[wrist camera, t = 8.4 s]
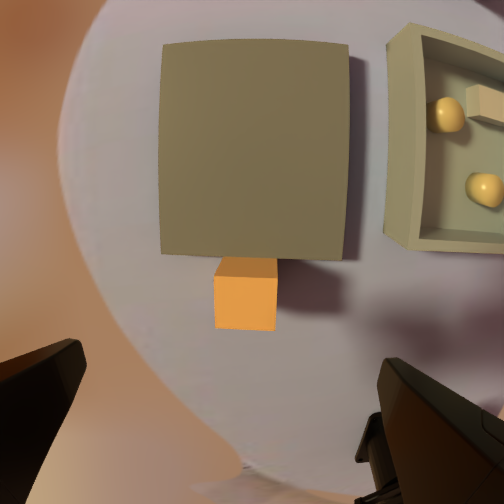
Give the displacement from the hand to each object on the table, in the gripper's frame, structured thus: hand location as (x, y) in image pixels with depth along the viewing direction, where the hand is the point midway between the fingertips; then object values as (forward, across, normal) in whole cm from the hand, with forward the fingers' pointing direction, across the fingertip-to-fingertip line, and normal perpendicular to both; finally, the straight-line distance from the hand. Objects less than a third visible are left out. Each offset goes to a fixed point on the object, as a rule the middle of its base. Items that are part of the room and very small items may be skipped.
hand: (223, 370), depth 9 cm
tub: (+12, -13, -8) cm, 19 cm away
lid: (+12, 0, -5) cm, 13 cm away
